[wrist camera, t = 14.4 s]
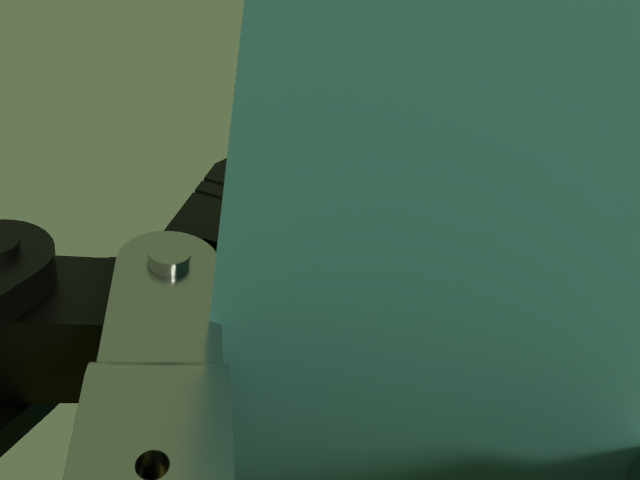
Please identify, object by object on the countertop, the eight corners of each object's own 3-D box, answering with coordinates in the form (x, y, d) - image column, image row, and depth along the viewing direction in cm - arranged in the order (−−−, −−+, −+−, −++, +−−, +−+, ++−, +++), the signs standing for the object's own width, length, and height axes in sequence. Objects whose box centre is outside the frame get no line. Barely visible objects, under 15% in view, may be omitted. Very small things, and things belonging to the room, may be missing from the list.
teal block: (424, 494, 15) (748, -101, 7) (414, 725, 11) (1117, -43, 3) (245, 442, 16) (368, -192, 8) (172, 650, 12) (272, -243, 3)
